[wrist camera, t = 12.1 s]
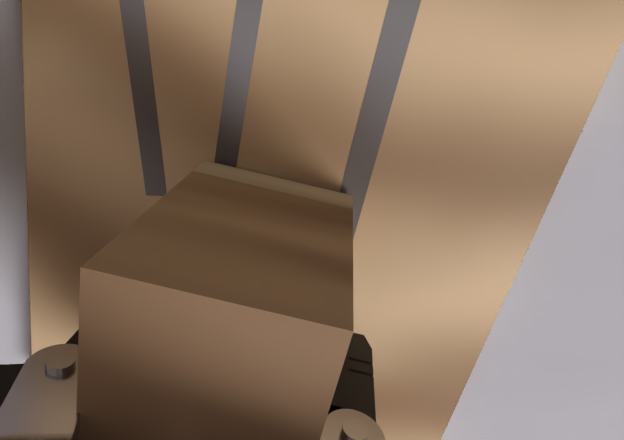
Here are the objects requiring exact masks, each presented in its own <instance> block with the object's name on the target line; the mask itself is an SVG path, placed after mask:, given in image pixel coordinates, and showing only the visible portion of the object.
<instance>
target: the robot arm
mask: <svg viewBox="0 0 624 440" xmlns="http://www.w3.org/2000/svg"><path fill="white" fill-rule="evenodd" d="M78 335H79V329H78V330H77V331H76V332H75V334H74V335H73V336H72V337H71V338H70V339H69V340H68V341H67V342H66V343H65V344H58V345H53V346H49V347H46V348H44V349H41V350H39V351H37V352H36V353H34V354H33V355H32V356H30V357H29V358H28V359H27V360H26V362H25V363H24V364H9V365H0V440H77V439H78V436H79V430H80V413H77V412H76V407H77V371H78ZM372 364H373V357H372V348H371V346H370V345H369V343H368V341H367V339H366V338H365V336H364V335H362V334H357V333H353V335H352V338H351V341H350V344H349V348H348V351H347V354H346V357H345V360H344V364H343V367H342V370H341V373H340V377H339V380H338V383H337V386H336V389H335V393H334V396H333V399H332V402H331V405H330V409H329V412H328V415H327V418H326V421H325V425H324V428H323V431H322V434H321V437H320V440H385V436H384V434H383V432H382V430H381V428H380V427H379V425H378V424H377V423H376V411H375V393H374V377H373V365H372Z"/></svg>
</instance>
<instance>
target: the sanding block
mask: <svg viewBox="0 0 624 440" xmlns="http://www.w3.org/2000/svg"><path fill="white" fill-rule="evenodd" d="M353 332H354V325H353V195H349V194H344V193H340V192H336V191H332V190H328V189H323V188H319V187H315V186H311V185H307V184H302V183H298V182H294V181H290V180H286V179H281V178H277V177H273V176H269V175H265V174H260V173H256V172H252V171H248V170H244V169H239V168H235V167H231V166H227V165H223V164H218V163H214V162H210V161H206V160H205V161H204V162H203V163H201V164H200V165H199V166H198V167H197V168H196V169H194V170H193V171H192V172H191V173H190V174H189V175H187V176H186V177H185V178H184V179H183V180H182V181H180V182H179V183H178V184H177V185H176V186H175V187H173V188H172V189H171V190H170V191H169V192H168V193H166V194H165V195H164V196H163V197H162V198H161V199H159V200H158V201H157V202H156V203H155V204H154V205H152V206H151V207H150V208H149V209H148V210H147V211H145V212H144V213H143V214H142V215H141V216H140V217H138V218H137V219H136V220H135V221H134V222H133V223H131V224H130V225H129V226H128V227H127V228H126V229H124V230H123V231H122V232H121V233H120V234H119V235H117V236H116V237H115V238H114V239H113V240H112V241H110V242H109V243H108V244H107V245H106V246H105V247H103V248H102V249H101V250H100V251H99V252H98V253H96V254H95V255H94V256H93V257H92V258H91V259H89V260H88V261H87V262H86V263H85V264H84V265H82V266H81V267H80V299H79V335H78V371H77V407H76V412H77V413H80V430H79V436H78V439H77V440H320V437H321V434H322V431H323V428H324V425H325V421H326V418H327V415H328V412H329V409H330V405H331V402H332V399H333V396H334V393H335V389H336V386H337V383H338V380H339V377H340V373H341V370H342V367H343V364H344V360H345V357H346V354H347V351H348V348H349V344H350V341H351V338H352V335H353Z"/></svg>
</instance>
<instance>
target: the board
mask: <svg viewBox="0 0 624 440" xmlns="http://www.w3.org/2000/svg"><path fill="white" fill-rule="evenodd" d="M21 4H22V39H23V73H24V108H25V142H26V177H27V211H28V246H29V280H30V315H31V349H32V355H33V354H34V353H36V352H37V351H39V350H41V349H44V348H46V347H49V346H53V345H58V344H65V343H66V342H67V341H68V340H69V339H70V338H71V337H72V336H73V335H74V334H75V332H76V331H77V330H78V329H79V299H80V267H81V266H82V265H84V264H85V263H86V262H87V261H88V260H89V259H91V258H92V257H93V256H94V255H95V254H96V253H98V252H99V251H100V250H101V249H102V248H103V247H105V246H106V245H107V244H108V243H109V242H110V241H112V240H113V239H114V238H115V237H116V236H117V235H119V234H120V233H121V232H122V231H123V230H124V229H126V228H127V227H128V226H129V225H130V224H131V223H133V222H134V221H135V220H136V219H137V218H138V217H140V216H141V215H142V214H143V213H144V212H145V211H147V210H148V209H149V208H150V207H151V206H152V205H154V204H155V203H156V202H157V201H158V200H159V199H161V198H162V197H163V196H164V195H165V194H166V193H168V192H169V191H170V190H171V189H172V188H173V187H175V186H176V185H177V184H178V183H179V182H180V181H182V180H183V179H184V178H185V177H186V176H187V175H189V174H190V173H191V172H192V171H193V170H194V169H196V168H197V167H198V166H199V165H200V164H201V163H203V162H204V161H205V160H206V161H210V162H214V163H218V164H223V165H227V166H231V167H235V168H239V169H244V170H248V171H252V172H256V173H260V174H265V175H269V176H273V177H277V178H281V179H286V180H290V181H294V182H298V183H302V184H307V185H311V186H315V187H319V188H323V189H328V190H332V191H336V192H340V193H344V194H349V195H353V325H354V332H353V333H357V334H362V335H364V336H365V338H366V339H367V341H368V343H369V345H370V346H371V348H372V357H373V364H372V365H373V377H374V393H375V411H376V423H377V424H378V425H379V427H380V428H381V430H382V432H383V434H384V436H385V440H441V438H442V436H443V433H444V431H445V429H446V427H447V425H448V422H449V420H450V418H451V416H452V414H453V411H454V409H455V407H456V405H457V403H458V401H459V398H460V396H461V394H462V392H463V390H464V387H465V385H466V383H467V381H468V379H469V377H470V374H471V372H472V370H473V368H474V366H475V363H476V361H477V359H478V357H479V355H480V352H481V350H482V348H483V346H484V344H485V342H486V339H487V337H488V335H489V333H490V331H491V328H492V326H493V324H494V322H495V320H496V317H497V315H498V313H499V311H500V309H501V307H502V304H503V302H504V300H505V298H506V296H507V293H508V291H509V289H510V287H511V285H512V282H513V280H514V278H515V276H516V274H517V272H518V269H519V267H520V265H521V263H522V261H523V258H524V256H525V254H526V252H527V250H528V248H529V245H530V243H531V241H532V239H533V237H534V234H535V232H536V230H537V228H538V226H539V223H540V221H541V219H542V217H543V215H544V213H545V210H546V208H547V206H548V204H549V202H550V199H551V197H552V195H553V193H554V191H555V188H556V186H557V184H558V182H559V180H560V178H561V175H562V173H563V171H564V169H565V167H566V164H567V162H568V160H569V158H570V156H571V154H572V151H573V149H574V147H575V145H576V143H577V140H578V138H579V136H580V134H581V132H582V129H583V127H584V125H585V123H586V121H587V119H588V116H589V114H590V112H591V110H592V108H593V105H594V103H595V101H596V99H597V97H598V94H599V92H600V90H601V88H602V86H603V84H604V81H605V79H606V77H607V75H608V73H609V70H610V68H611V66H612V64H613V62H614V60H615V57H616V55H617V53H618V51H619V49H620V46H621V44H622V42H623V40H624V0H21Z"/></svg>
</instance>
